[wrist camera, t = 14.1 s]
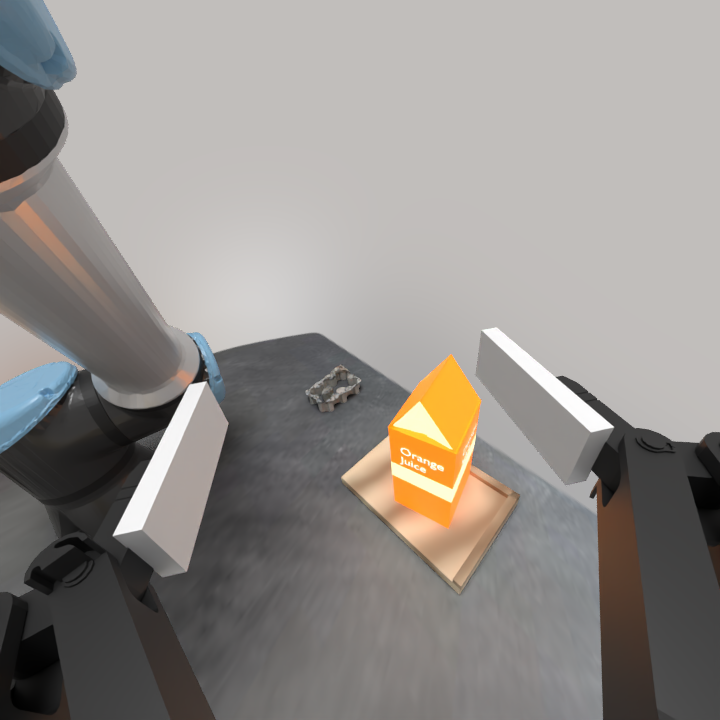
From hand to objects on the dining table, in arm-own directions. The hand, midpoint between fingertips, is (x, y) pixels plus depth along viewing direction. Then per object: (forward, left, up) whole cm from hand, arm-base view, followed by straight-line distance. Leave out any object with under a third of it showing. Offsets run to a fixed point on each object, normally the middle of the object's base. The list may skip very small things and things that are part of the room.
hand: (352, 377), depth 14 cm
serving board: (-5, +13, -32) cm, 35 cm away
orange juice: (-4, +14, -31) cm, 34 cm away
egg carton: (-32, +19, -32) cm, 49 cm away
